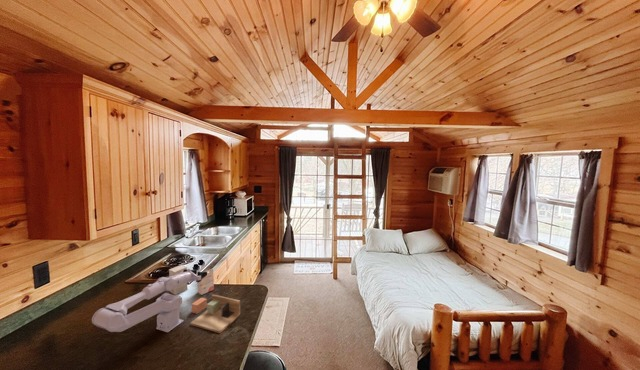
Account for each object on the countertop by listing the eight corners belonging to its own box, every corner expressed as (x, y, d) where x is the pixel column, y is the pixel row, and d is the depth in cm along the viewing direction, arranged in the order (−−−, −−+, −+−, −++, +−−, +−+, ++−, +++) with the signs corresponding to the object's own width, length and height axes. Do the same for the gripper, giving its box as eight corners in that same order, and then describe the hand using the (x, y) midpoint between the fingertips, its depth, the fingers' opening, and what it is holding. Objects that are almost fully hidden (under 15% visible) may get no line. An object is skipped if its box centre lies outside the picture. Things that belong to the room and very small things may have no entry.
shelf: (220, 333, 121) (219, 317, 120) (190, 324, 127) (190, 309, 126) (240, 314, 136) (240, 300, 135) (213, 307, 142) (212, 294, 141)
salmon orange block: (197, 314, 136) (197, 305, 135) (191, 312, 137) (191, 303, 137) (206, 307, 142) (206, 298, 142) (201, 305, 144) (201, 297, 143)
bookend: (227, 318, 131) (227, 309, 130) (221, 316, 132) (221, 307, 131) (234, 312, 136) (234, 303, 135) (227, 310, 137) (227, 302, 136)
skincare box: (182, 287, 164) (181, 264, 163) (188, 289, 161) (187, 266, 159) (169, 292, 157) (168, 269, 155) (175, 295, 153) (174, 271, 152)
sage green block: (213, 314, 134) (212, 305, 133) (207, 312, 135) (207, 304, 134) (219, 308, 139) (219, 300, 138) (214, 307, 140) (214, 299, 139)
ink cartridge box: (210, 287, 164) (209, 266, 163) (214, 289, 161) (213, 268, 160) (197, 292, 158) (196, 270, 156) (201, 295, 155) (200, 272, 153)
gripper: (192, 273, 129) (211, 267, 141) (172, 269, 134) (192, 264, 146) (191, 286, 128) (210, 279, 141) (170, 282, 133) (191, 276, 146)
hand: (201, 272), depth 144 cm, fingers open, 7 cm apart
